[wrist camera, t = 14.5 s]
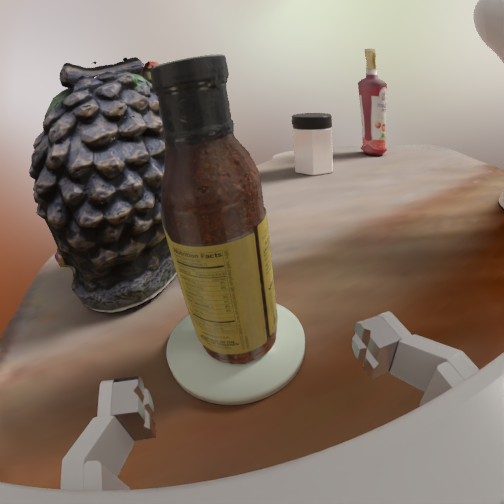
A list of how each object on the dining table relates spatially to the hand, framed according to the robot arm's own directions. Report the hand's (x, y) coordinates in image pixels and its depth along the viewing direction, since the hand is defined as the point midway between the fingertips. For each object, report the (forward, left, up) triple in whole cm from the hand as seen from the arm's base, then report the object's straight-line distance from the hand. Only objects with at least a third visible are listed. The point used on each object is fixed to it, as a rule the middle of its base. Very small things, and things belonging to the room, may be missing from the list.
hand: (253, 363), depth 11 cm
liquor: (-18, -76, -10) cm, 78 cm away
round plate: (+4, -10, -10) cm, 15 cm away
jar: (-2, -60, -10) cm, 61 cm away
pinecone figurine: (+18, -21, -10) cm, 29 cm away
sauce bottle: (+4, -10, -9) cm, 14 cm away
